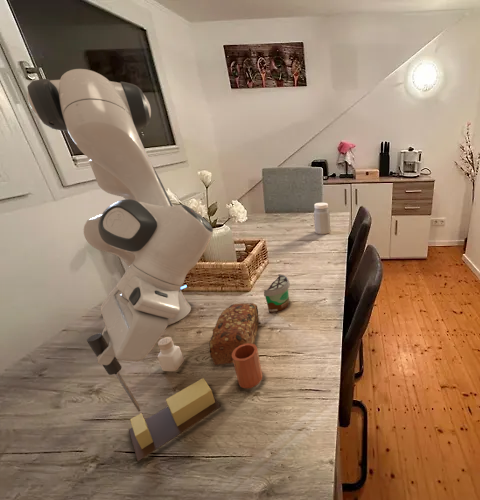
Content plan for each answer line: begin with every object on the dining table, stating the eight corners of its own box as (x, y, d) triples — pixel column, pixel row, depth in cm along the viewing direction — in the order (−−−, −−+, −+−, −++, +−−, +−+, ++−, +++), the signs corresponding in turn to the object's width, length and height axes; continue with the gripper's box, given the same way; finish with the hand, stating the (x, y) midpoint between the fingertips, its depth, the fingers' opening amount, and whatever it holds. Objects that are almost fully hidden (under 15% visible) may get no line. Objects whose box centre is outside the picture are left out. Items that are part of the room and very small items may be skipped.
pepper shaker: (172, 362, 78) (162, 335, 74) (186, 362, 78) (176, 335, 74) (162, 374, 74) (152, 346, 71) (177, 374, 74) (167, 346, 71)
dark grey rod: (142, 400, 57) (100, 330, 49) (145, 407, 55) (102, 337, 47) (131, 407, 56) (85, 337, 48) (133, 415, 54) (87, 344, 46)
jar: (317, 229, 180) (315, 201, 173) (332, 229, 178) (330, 202, 171) (313, 234, 171) (310, 205, 164) (328, 235, 169) (327, 206, 162)
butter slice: (147, 425, 60) (141, 412, 59) (153, 441, 57) (147, 428, 55) (136, 432, 59) (129, 419, 57) (141, 449, 56) (135, 436, 54)
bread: (252, 364, 77) (246, 335, 73) (211, 369, 76) (202, 340, 72) (261, 322, 94) (257, 296, 90) (228, 325, 92) (222, 300, 89)
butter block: (207, 389, 68) (203, 377, 67) (215, 402, 65) (211, 390, 63) (170, 411, 63) (165, 399, 61) (177, 426, 60) (172, 413, 58)
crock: (236, 392, 69) (228, 361, 65) (242, 373, 74) (235, 344, 70) (260, 390, 69) (254, 359, 65) (264, 371, 74) (259, 342, 70)
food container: (284, 317, 96) (280, 292, 92) (267, 315, 97) (263, 290, 93) (297, 297, 107) (294, 274, 103) (282, 296, 108) (279, 273, 104)
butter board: (207, 387, 70) (206, 383, 70) (222, 410, 64) (221, 406, 64) (130, 433, 60) (128, 429, 59) (139, 465, 54) (137, 461, 54)
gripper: (119, 263, 56) (73, 326, 53) (143, 304, 42) (84, 390, 40) (152, 275, 60) (111, 333, 58) (183, 315, 47) (132, 393, 45)
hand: (100, 357), depth 49 cm, fingers closed on dark grey rod, 2 cm apart
